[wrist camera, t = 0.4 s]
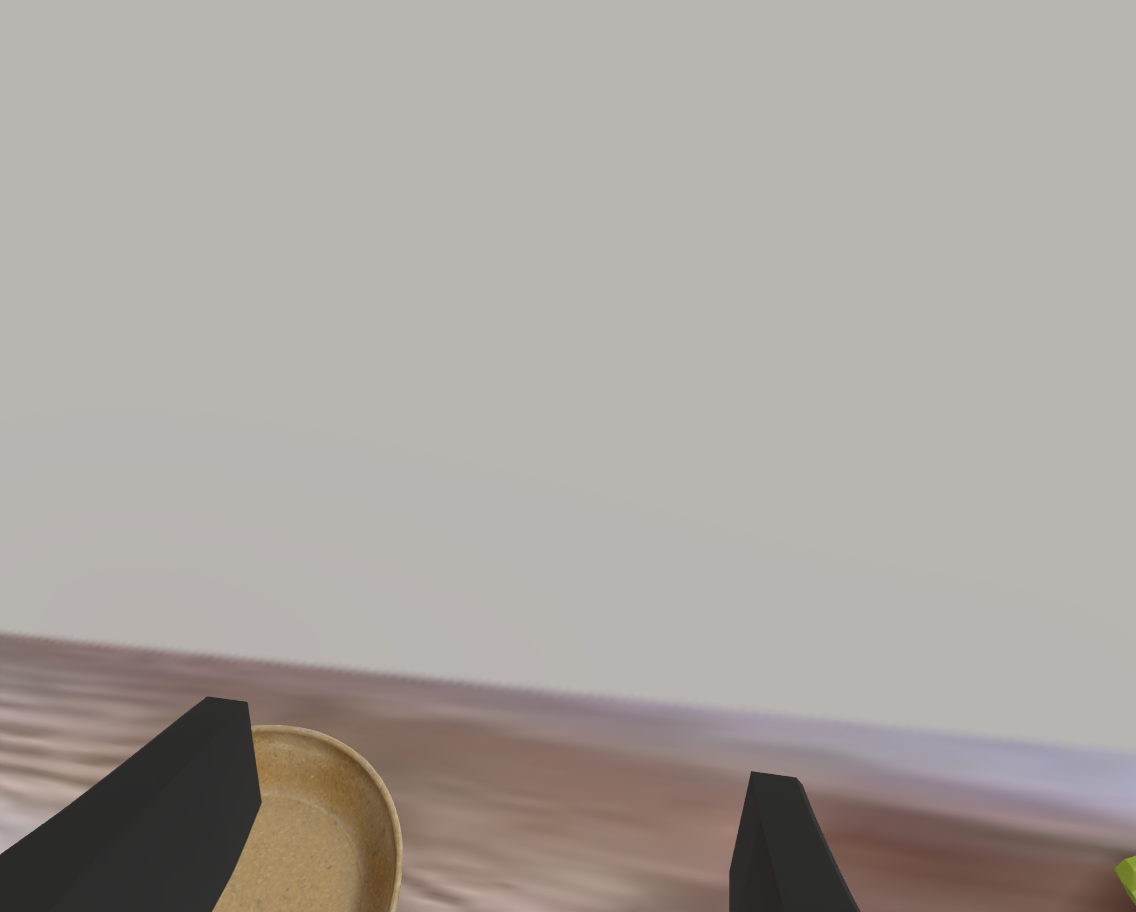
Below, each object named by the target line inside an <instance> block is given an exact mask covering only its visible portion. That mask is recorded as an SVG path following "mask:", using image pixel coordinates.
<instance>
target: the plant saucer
mask: <svg viewBox="0 0 1136 912" xmlns="http://www.w3.org/2000/svg"><path fill="white" fill-rule="evenodd" d="M251 730H252V737H253V744H254V751H255V758H256V765H257V772H258V779H259V786H260V793H261V800H262V804H261V806H260V809H259V811H258V814H257V816H256V819H255V821H254V824H253V826H252V829H251V831H250V834H249V836H248V839H247V841H246V844H245V846H244V848H243V851H242V853H241V856H240V858H239V860H238V863H237V865H236V867H235V870H234V872H233V874H232V876H231V878H230V880H229V881H228V883H227V885H226V887H225V889H224V891H223V893H222V894H221V896H220V898H219V900H218V902H217V904H216V905H215V907H214V909H213V911H212V912H395V911H396V907H397V902H398V898H399V892H400V886H401V878H402V864H403V848H402V835H401V829H400V824H399V819H398V815H397V811H396V808H395V805H394V803H393V800H392V798H391V795H390V792H389V791H388V789H387V788H386V786H385V784H384V782H383V780H382V779H381V777H380V776H379V775H378V774H377V772H376V771H375V770H374V768H373V767H372V766H371V765H370V764H369V763H368V761H367V760H366V759H364V758H363V757H362V756H361V755H360V754H358V753H357V752H356V751H355V750H353V749H352V748H350V747H348V746H347V745H346V744H344V743H342V742H340V741H339V740H337V739H335V738H333V737H330V736H328V735H326V734H323V733H320V732H317V731H314V730H310V729H305V728H299V727H291V726H284V725H258V726H251Z"/></svg>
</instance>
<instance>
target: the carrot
mask: <svg viewBox="0 0 1136 912" xmlns="http://www.w3.org/2000/svg"><path fill="white" fill-rule="evenodd" d="M1114 869H1115V871H1116V873H1117V875H1118V876H1119V878H1120V880H1121V882H1122V884H1123V885H1124V887H1125V889H1126V891H1127V893H1128V895H1129V896H1130V898H1131V899H1132V901H1133V902H1134V904H1135V906H1136V856H1133V857H1130V858H1127V859H1125V860H1123V861H1122V862H1121V863H1120V864H1118V865H1117V866H1116V867H1115V868H1114Z"/></svg>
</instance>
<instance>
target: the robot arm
mask: <svg viewBox="0 0 1136 912" xmlns="http://www.w3.org/2000/svg"><path fill="white" fill-rule="evenodd" d="M261 804H262V800H261V793H260V786H259V779H258V772H257V765H256V758H255V751H254V744H253V737H252V730H251V723H250V716H249V709H248V702H244V701H236V700H229V699H222V698H215V697H206V698H205V699H203V700H202V701H201V702H199V703H198V704H197V705H196V706H194V707H193V708H192V709H190V710H189V711H188V712H187V713H185V714H184V715H183V716H181V717H180V718H179V719H178V720H176V721H175V722H174V723H173V724H171V725H170V726H169V727H168V728H166V729H165V730H164V731H163V732H161V733H160V734H159V735H158V736H156V737H155V738H154V739H153V740H151V741H150V742H149V743H148V744H146V745H145V746H144V747H143V748H141V749H140V750H139V751H138V752H136V753H135V754H134V755H133V756H131V757H130V758H129V759H128V760H126V761H125V762H124V763H123V764H121V765H120V766H119V767H118V768H116V769H115V770H114V771H112V772H111V773H110V774H109V775H107V776H106V777H105V778H103V779H102V780H101V781H99V782H98V783H97V784H96V785H94V786H93V787H92V788H90V789H89V790H88V791H86V792H85V793H84V794H83V795H81V796H80V797H79V798H77V799H76V800H75V801H73V802H72V803H71V804H70V805H68V806H67V807H66V808H64V809H63V810H62V811H60V812H59V813H58V814H56V815H55V816H53V817H52V818H51V819H49V820H48V821H46V822H45V823H44V824H42V825H41V826H39V827H38V828H37V829H35V830H34V831H32V832H31V833H30V834H28V835H27V836H25V837H24V838H23V839H21V840H20V841H18V842H17V843H16V844H14V845H13V846H11V847H10V848H9V849H7V850H6V851H4V852H3V853H2V854H0V912H212V911H213V909H214V907H215V905H216V904H217V902H218V900H219V898H220V896H221V894H222V893H223V891H224V889H225V887H226V885H227V883H228V881H229V880H230V878H231V876H232V874H233V872H234V870H235V867H236V865H237V863H238V860H239V858H240V856H241V853H242V851H243V848H244V846H245V844H246V841H247V839H248V836H249V834H250V831H251V829H252V826H253V824H254V821H255V819H256V816H257V814H258V811H259V809H260V806H261ZM729 912H860V910H859V908H858V906H857V904H856V902H855V900H854V898H853V897H852V895H851V893H850V891H849V889H848V887H847V885H846V883H845V881H844V879H843V876H842V874H841V872H840V870H839V868H838V866H837V864H836V862H835V860H834V857H833V855H832V853H831V851H830V849H829V847H828V845H827V842H826V840H825V838H824V836H823V833H822V831H821V829H820V827H819V824H818V822H817V820H816V817H815V815H814V812H813V810H812V808H811V805H810V803H809V800H808V798H807V795H806V792H805V790H804V787H803V785H802V784H801V782H800V781H799V780H798V779H797V778H796V777H789V776H781V775H774V774H767V773H760V772H752V771H751V775H750V779H749V784H748V789H747V793H746V798H745V802H744V807H743V812H742V816H741V821H740V825H739V830H738V835H737V839H736V844H735V848H734V853H733V858H732V862H731V867H730V871H729Z"/></svg>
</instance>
